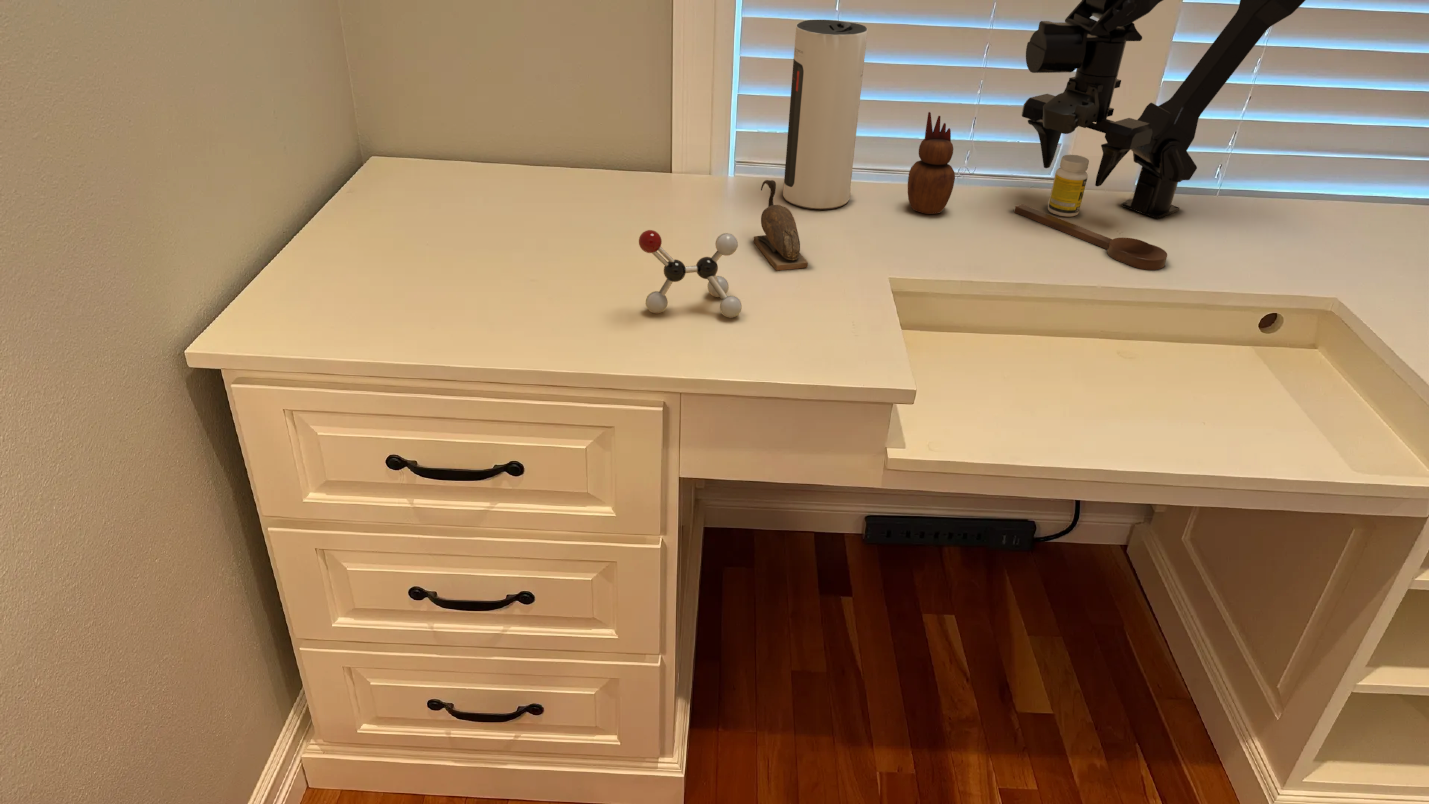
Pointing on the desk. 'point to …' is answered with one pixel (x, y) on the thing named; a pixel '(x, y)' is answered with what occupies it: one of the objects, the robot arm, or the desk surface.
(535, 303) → the desk surface
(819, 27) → the speaker
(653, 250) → the molecular model
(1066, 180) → the supplement bottle
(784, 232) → the figurine
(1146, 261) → the wooden spoon
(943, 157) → the wooden figurine
